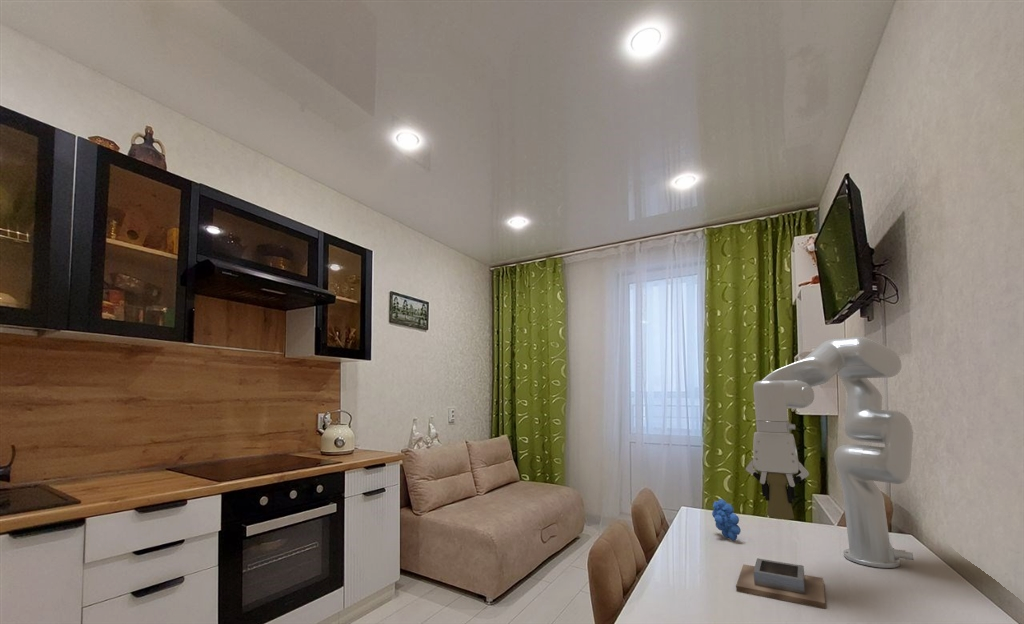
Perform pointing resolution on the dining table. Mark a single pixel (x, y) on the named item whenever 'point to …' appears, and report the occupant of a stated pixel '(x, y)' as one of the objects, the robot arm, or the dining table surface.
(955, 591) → the dining table surface
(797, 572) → the collar
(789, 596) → the collar board
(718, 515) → the grapes
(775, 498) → the cork
